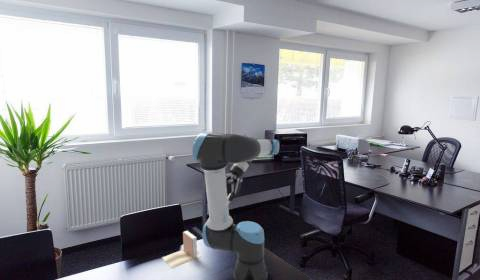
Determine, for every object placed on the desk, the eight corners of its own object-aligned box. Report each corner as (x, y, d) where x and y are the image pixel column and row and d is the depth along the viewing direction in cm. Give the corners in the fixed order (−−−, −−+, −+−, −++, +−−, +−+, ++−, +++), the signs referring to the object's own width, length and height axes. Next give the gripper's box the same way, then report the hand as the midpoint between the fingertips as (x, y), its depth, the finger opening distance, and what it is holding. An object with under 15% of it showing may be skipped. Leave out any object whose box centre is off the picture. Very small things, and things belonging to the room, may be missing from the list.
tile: (197, 256, 145) (196, 237, 143) (192, 258, 144) (192, 239, 142) (187, 248, 152) (187, 230, 150) (183, 250, 151) (182, 232, 149)
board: (202, 257, 146) (202, 255, 146) (172, 270, 136) (172, 268, 136) (190, 248, 154) (190, 246, 154) (161, 259, 144) (161, 257, 144)
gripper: (258, 177, 154) (236, 212, 147) (228, 167, 173) (207, 198, 166) (250, 169, 150) (227, 205, 143) (220, 160, 168) (199, 191, 161)
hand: (216, 201), depth 154 cm, fingers open, 13 cm apart
